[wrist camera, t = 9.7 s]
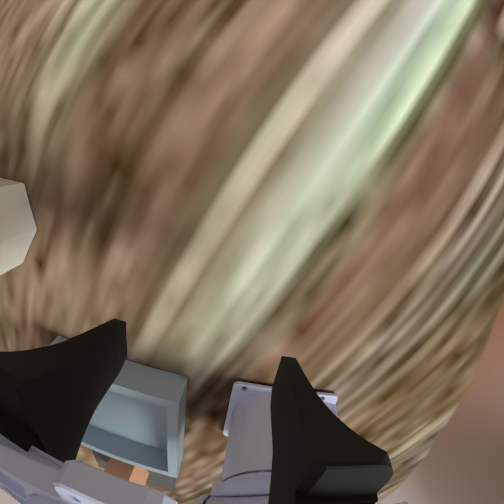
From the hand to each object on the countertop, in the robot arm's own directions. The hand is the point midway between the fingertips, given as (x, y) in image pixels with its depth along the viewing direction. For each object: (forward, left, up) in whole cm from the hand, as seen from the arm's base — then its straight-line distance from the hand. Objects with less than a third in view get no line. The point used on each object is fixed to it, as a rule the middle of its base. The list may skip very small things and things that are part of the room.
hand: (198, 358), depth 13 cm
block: (+9, +30, -9) cm, 32 cm away
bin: (+9, +17, -9) cm, 21 cm away
